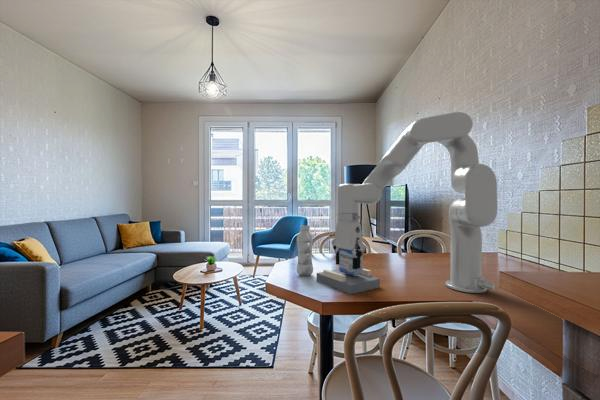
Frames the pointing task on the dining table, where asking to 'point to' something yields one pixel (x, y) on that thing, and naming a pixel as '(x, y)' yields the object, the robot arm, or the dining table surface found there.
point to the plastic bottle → (304, 251)
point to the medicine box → (349, 263)
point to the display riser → (348, 281)
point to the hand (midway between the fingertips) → (347, 266)
